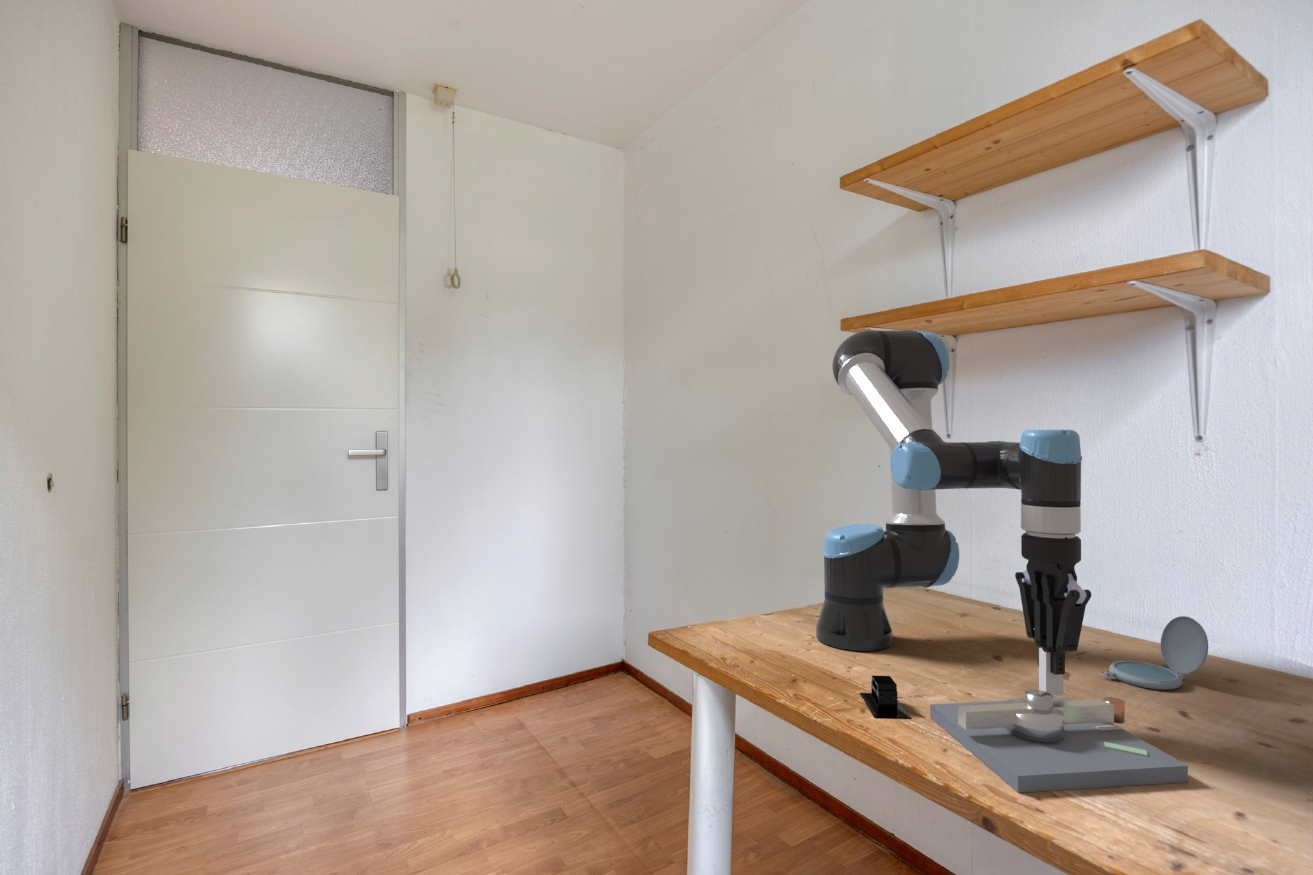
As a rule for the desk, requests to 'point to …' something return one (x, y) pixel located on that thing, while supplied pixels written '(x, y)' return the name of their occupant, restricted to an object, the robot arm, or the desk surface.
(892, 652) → the desk surface
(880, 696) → the black stepped block
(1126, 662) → the pocket watch
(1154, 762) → the stand
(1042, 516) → the robot arm
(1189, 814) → the desk surface
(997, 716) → the rotary pointer lever
